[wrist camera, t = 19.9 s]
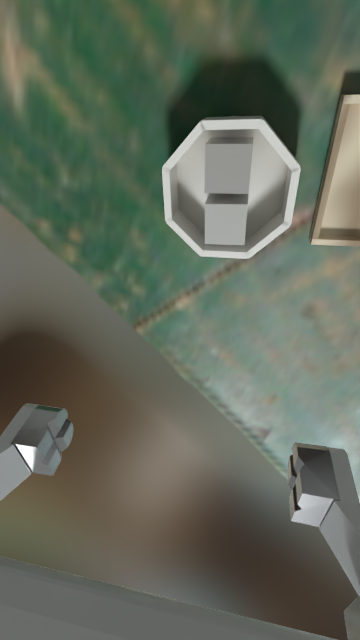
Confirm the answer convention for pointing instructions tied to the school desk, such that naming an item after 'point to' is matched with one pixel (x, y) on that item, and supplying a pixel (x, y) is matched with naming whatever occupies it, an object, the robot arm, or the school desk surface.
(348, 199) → the tray
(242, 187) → the grey rectangular block
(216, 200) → the grey cube
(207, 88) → the school desk surface
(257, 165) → the bowl
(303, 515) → the robot arm
